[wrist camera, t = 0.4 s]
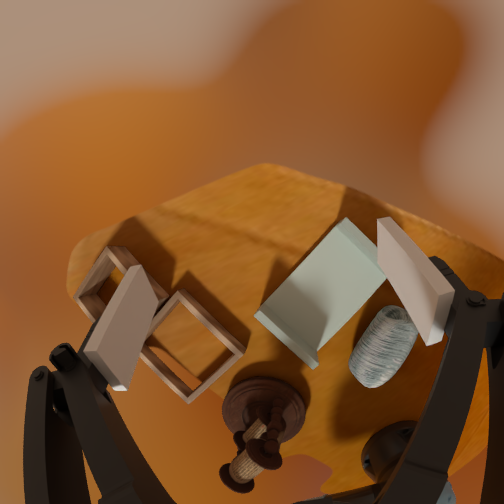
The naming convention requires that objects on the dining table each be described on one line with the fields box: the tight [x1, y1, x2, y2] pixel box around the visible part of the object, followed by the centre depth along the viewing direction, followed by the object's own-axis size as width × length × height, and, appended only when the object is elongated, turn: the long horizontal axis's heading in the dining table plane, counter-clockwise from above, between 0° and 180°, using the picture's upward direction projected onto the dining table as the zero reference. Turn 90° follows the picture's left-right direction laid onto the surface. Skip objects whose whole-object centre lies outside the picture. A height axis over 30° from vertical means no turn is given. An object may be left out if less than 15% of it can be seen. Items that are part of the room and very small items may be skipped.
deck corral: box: [139, 288, 246, 404], centre depth 49 cm, size 15×15×3 cm
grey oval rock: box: [349, 305, 419, 388], centre depth 42 cm, size 14×10×10 cm
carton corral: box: [73, 246, 170, 323], centre depth 49 cm, size 13×13×6 cm
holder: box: [254, 217, 387, 369], centre depth 44 cm, size 12×19×7 cm, turn 138°
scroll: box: [219, 376, 306, 493], centre depth 39 cm, size 15×15×20 cm
